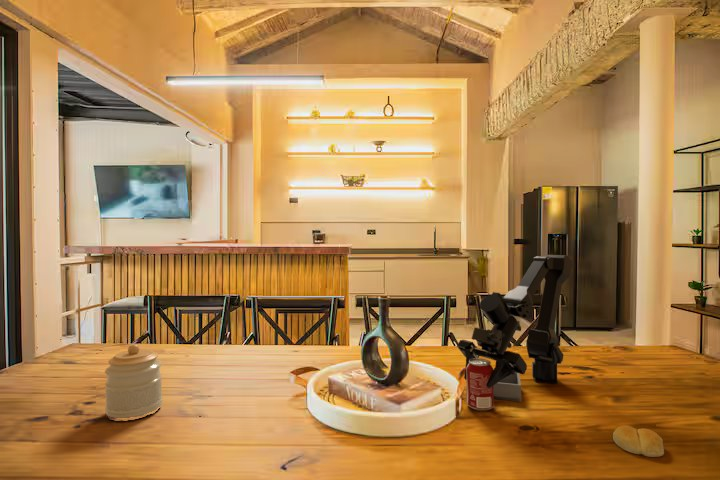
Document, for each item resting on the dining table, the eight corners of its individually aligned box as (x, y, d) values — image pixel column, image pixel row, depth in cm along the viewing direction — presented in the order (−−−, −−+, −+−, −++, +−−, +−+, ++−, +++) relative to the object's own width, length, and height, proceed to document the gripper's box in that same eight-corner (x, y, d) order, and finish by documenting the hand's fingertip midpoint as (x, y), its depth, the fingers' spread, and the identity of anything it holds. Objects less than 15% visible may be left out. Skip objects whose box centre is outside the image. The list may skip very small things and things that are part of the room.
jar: (173, 405, 111) (172, 340, 111) (132, 426, 99) (131, 353, 99) (136, 399, 115) (135, 336, 115) (93, 419, 103) (91, 349, 103)
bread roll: (613, 434, 93) (613, 416, 93) (662, 444, 88) (662, 426, 88) (612, 450, 86) (612, 431, 86) (665, 463, 81) (665, 443, 81)
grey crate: (518, 387, 121) (518, 372, 120) (521, 402, 110) (521, 385, 110) (480, 383, 124) (480, 368, 124) (479, 397, 114) (479, 381, 114)
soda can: (495, 413, 103) (494, 366, 103) (467, 411, 105) (467, 364, 105) (491, 402, 110) (491, 358, 110) (466, 400, 111) (465, 356, 111)
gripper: (460, 311, 117) (434, 356, 111) (520, 322, 102) (493, 375, 96) (478, 334, 122) (453, 379, 115) (537, 348, 107) (513, 400, 100)
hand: (476, 383), depth 107 cm, fingers closed on soda can, 7 cm apart
